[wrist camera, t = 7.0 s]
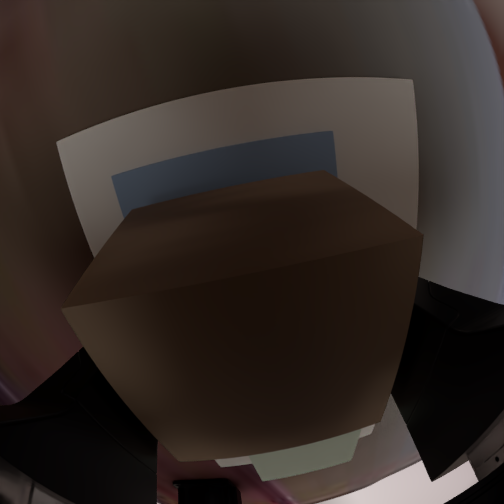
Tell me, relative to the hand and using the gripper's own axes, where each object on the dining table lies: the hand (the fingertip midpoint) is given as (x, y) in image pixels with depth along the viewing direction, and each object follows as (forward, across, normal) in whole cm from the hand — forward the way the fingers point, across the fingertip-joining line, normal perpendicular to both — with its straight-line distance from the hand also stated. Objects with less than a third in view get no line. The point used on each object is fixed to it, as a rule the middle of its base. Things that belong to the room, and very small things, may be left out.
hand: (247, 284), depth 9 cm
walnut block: (+1, 0, 0) cm, 1 cm away
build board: (+3, -1, +8) cm, 8 cm away
